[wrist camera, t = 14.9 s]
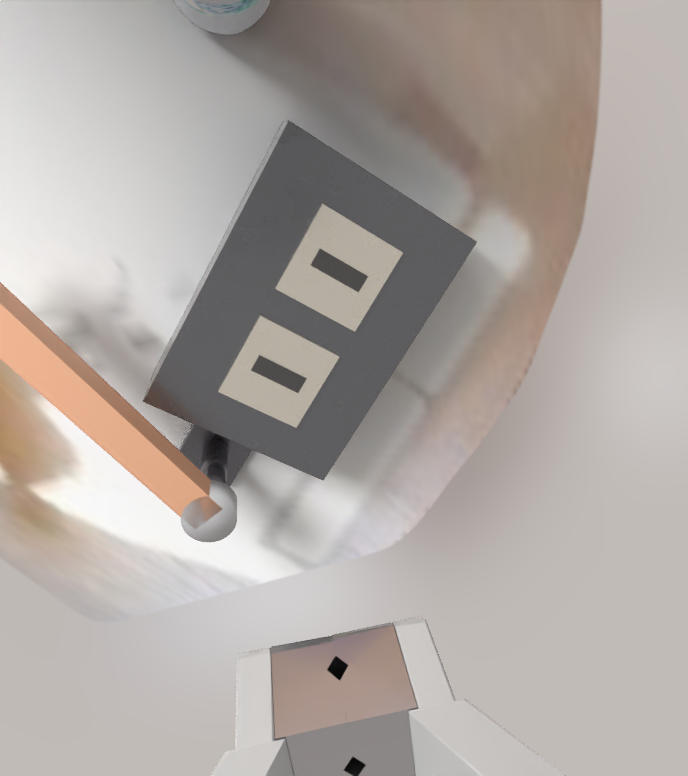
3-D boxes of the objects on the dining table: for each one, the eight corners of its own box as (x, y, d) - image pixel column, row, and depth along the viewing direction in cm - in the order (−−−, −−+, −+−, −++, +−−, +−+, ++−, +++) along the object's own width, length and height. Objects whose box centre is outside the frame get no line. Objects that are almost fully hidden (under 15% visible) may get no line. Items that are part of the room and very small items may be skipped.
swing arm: (247, 502, 42) (247, 522, 40) (208, 531, 43) (206, 553, 41) (-54, 214, 33) (-76, 220, 30) (-101, 256, 33) (-126, 265, 31)
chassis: (155, 369, 46) (142, 403, 40) (282, 121, 40) (288, 120, 35) (314, 442, 50) (323, 483, 44) (448, 228, 45) (478, 242, 39)
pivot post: (173, 459, 49) (161, 514, 42) (201, 409, 48) (193, 457, 41) (229, 482, 50) (227, 539, 43) (258, 435, 49) (259, 485, 42)
